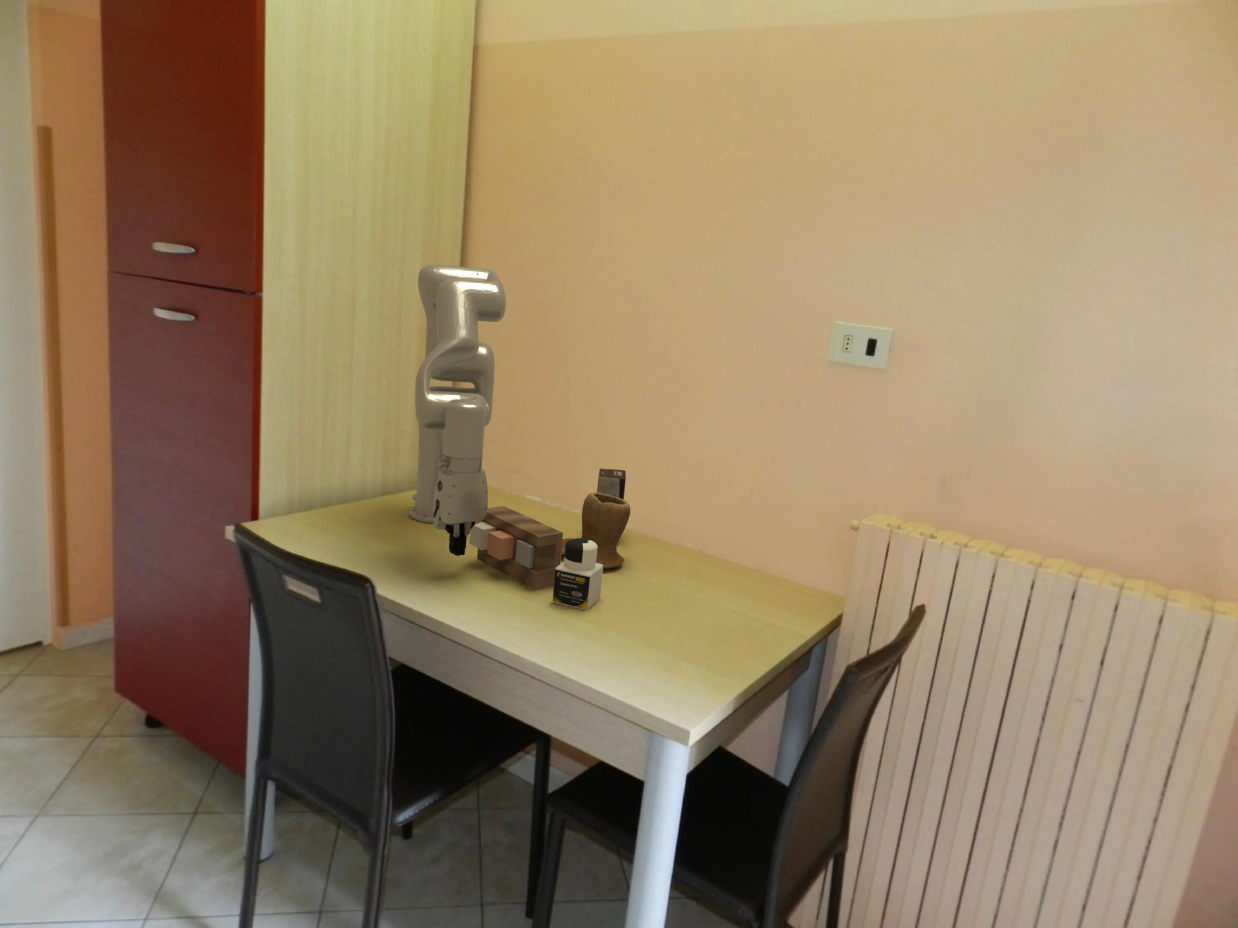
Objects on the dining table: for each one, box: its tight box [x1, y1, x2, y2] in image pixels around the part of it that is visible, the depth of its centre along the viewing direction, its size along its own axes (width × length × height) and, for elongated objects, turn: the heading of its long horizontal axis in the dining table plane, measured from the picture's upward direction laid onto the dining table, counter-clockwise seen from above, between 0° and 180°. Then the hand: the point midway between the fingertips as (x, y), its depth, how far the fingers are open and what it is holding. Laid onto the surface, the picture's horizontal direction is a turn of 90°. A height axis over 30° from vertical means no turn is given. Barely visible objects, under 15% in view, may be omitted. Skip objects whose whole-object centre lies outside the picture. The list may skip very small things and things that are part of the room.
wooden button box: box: [476, 505, 564, 591], centre depth 173 cm, size 20×6×11 cm, turn 43°
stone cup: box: [561, 491, 631, 569], centre depth 184 cm, size 15×12×15 cm
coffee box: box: [596, 468, 627, 546], centre depth 200 cm, size 9×6×16 cm
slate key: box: [515, 539, 535, 568], centre depth 167 cm, size 4×4×4 cm
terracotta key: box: [487, 530, 515, 560], centre depth 170 cm, size 4×4×4 cm
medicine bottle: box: [552, 537, 604, 611], centre depth 161 cm, size 7×7×12 cm
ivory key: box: [468, 521, 496, 550], centre depth 175 cm, size 4×4×4 cm
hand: (457, 553), depth 168 cm, fingers closed
